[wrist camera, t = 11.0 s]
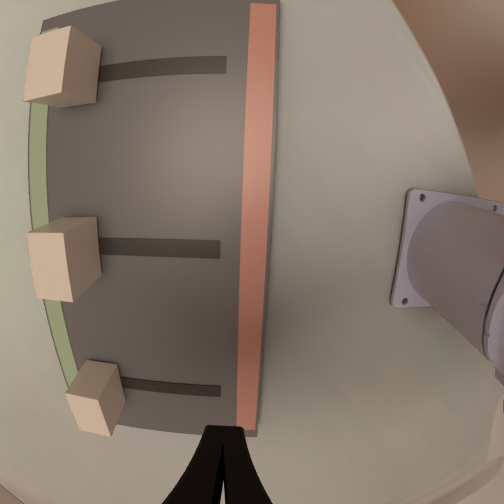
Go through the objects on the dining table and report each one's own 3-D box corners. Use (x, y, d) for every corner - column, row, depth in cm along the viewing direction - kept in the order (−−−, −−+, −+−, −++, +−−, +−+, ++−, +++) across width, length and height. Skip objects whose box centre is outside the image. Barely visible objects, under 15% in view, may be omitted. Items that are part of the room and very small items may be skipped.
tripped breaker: (101, 46, 14) (70, 25, 10) (95, 102, 15) (61, 92, 11) (67, 53, 14) (32, 37, 10) (61, 108, 15) (23, 101, 11)
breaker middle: (96, 216, 16) (63, 233, 13) (101, 275, 17) (73, 302, 14) (62, 217, 16) (26, 232, 13) (69, 273, 17) (37, 298, 14)
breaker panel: (277, 2, 15) (280, -9, 13) (256, 423, 23) (257, 437, 22) (53, 26, 14) (42, 20, 13) (84, 405, 23) (78, 416, 21)
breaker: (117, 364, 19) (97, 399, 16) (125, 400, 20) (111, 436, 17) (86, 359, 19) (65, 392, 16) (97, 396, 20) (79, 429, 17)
